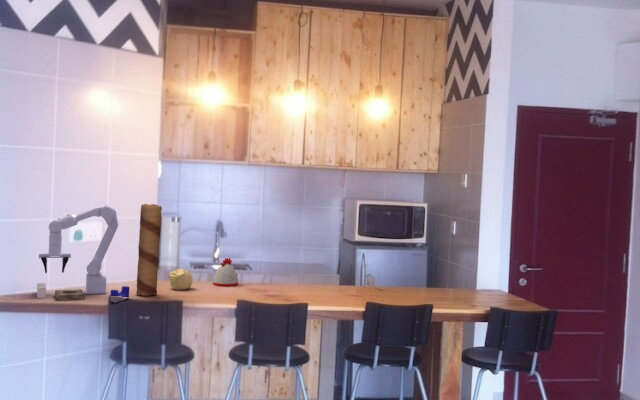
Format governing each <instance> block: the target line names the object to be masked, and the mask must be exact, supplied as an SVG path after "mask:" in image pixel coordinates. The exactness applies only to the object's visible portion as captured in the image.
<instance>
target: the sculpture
mask: <svg viewBox="0 0 640 400" xmlns="http://www.w3.org/2000/svg"><path fill="white" fill-rule="evenodd" d="M193 278H194V277H193V276H192V274H191V273H190V271H188V270H186V269H183V268H178V269H174V270H172V271H170V272H169V274H168V279H169V282H170V287H171V288H173V289H174V290H177V291H182V290H187V289H190V288H191V287H192V285H193V283H194V281H193Z"/></svg>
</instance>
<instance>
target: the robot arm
mask: <svg viewBox="0 0 640 400" xmlns="http://www.w3.org/2000/svg"><path fill="white" fill-rule="evenodd" d="M92 217H98V218H100V217H102V218H103V220H104V221H105V224H106V225H107V228H106V230H105V231H104V233H103V234H104V235H103V236H102V238H101V240H100V243H99V246H98V248H97V250H96V252H95V254H94V256H93V258H92V259H91V261H90V262H89V263H88V264H87V265H86V272H87V273H86V276H85V277H86V278H85V290H84V291H83V292H84V294H85V295H93V294H94V295H95V294H98V295H99V294H106V293H107V275H106V274H103V273H102V272H101V270H102V267H103V265H102V263H103V262H104V261H103V260H104V258H105V257H106V254H107V251H108V249H109V247H110V245H111V243H112V241H113V239H114V236H115V235H116V232H117V230H118V227H119V220H118V214H117V211H116V209H115V207H114V206H113V205H111V204H110V205H109V204H106V205H103V206H97V207H93V208H92V209H89V210H87V211H85V212H81V213H79V214H77V215H76V214H73V213H72V214H70V213H68V214H67V215H66V216H64V217H61V218H60V217H58V218H57V219H56V220H52V221H51V222H49V224H48V230H49V233H48V234H49V235H48V253H39V254H38V259H40V260H41V262H42V264H43V267H44V273H45V274H47V272H48V268H47V267H48V265H47V264H48V259H60V258H61V259H62V261H61V262H62V265H61V273H63V274H64V272H65V269H66V266H67V263H68V261H69V259H72V257H71V256H72V253H65V252H64V253H62V240H63V239H62V237H63V236H62V232H63V231H62V230H67V229H70V228H72V227H75V226H77V225H78V223H79V222H80V221H83V220H86V219H88V218H92Z"/></svg>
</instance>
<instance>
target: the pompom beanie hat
mask: <svg viewBox="0 0 640 400" xmlns="http://www.w3.org/2000/svg"><path fill="white" fill-rule="evenodd" d="M232 262H233V259H231V257H225V258H224V260H222V262H220V266H219V267H218V268H217V269H216V271H215V272H214V277H213V281H212V285H213V286H215V287H223V288H225V287H226V288H230V287H237V286H239V279H238V273H237V272H236V270H235V268H234V267H233V266H232V265H231V264H232Z"/></svg>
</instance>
